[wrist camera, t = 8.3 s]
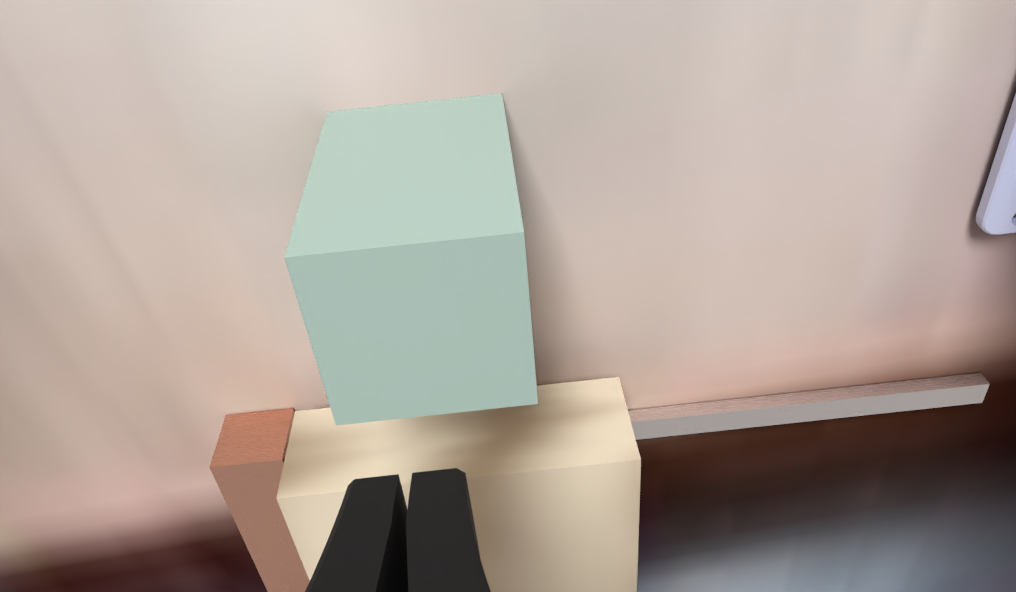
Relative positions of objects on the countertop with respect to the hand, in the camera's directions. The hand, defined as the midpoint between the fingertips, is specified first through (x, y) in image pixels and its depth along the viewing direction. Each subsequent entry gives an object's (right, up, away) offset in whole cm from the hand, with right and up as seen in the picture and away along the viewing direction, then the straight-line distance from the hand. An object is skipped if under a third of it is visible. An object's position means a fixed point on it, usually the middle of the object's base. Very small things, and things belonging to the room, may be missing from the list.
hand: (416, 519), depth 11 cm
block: (-1, +6, +8) cm, 10 cm away
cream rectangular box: (+1, -6, +17) cm, 18 cm away
